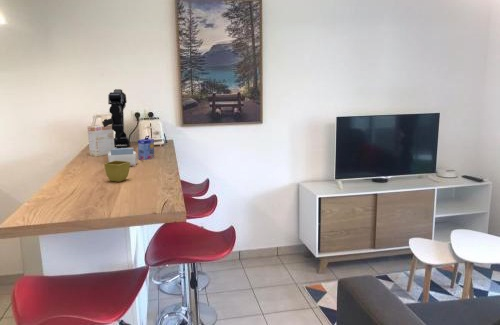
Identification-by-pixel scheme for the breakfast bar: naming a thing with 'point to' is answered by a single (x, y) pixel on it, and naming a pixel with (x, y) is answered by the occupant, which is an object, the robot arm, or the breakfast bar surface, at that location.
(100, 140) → the coffeecake box
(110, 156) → the carton
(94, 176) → the breakfast bar surface
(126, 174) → the flower pot
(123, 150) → the flap
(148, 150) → the ink cartridge box
